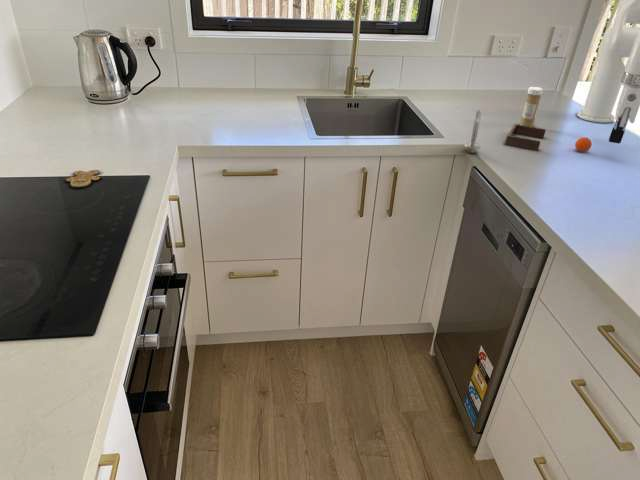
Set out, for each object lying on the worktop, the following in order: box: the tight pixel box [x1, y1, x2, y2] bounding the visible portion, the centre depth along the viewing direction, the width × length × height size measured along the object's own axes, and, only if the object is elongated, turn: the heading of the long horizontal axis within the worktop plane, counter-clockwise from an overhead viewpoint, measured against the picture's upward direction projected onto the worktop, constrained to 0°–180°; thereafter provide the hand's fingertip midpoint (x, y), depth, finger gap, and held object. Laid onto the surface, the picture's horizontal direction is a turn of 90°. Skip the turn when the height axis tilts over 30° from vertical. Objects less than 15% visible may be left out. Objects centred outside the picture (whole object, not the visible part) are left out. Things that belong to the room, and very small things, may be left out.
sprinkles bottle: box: [519, 86, 544, 127], centre depth 167 cm, size 5×5×14 cm
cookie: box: [65, 169, 101, 189], centre depth 126 cm, size 8×1×10 cm
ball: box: [574, 136, 593, 153], centre depth 150 cm, size 4×4×4 cm
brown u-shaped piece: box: [504, 123, 547, 152], centre depth 158 cm, size 14×10×3 cm
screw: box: [463, 110, 482, 154], centre depth 146 cm, size 13×5×5 cm
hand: (614, 141), depth 146 cm, fingers closed
